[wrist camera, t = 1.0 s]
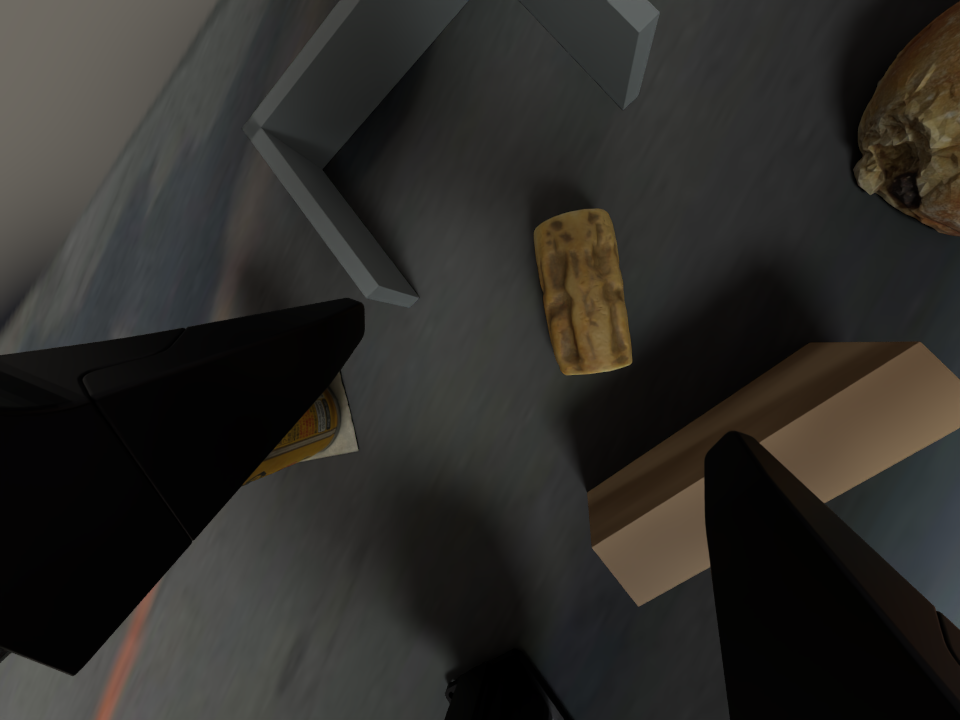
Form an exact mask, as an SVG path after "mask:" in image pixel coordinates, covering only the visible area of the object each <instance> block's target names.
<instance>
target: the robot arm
mask: <svg viewBox="0 0 960 720" xmlns="http://www.w3.org/2000/svg"><path fill="white" fill-rule="evenodd" d="M364 331H365V311H364V305H363V304H362V303H361V302H359V301H356V300H353V299H350V298H343V299H337V300H332V301H326V302H321V303H315V304H310V305H304V306H299V307H294V308H288V309H283V310H277V311H272V312H266V313H261V314H255V315H250V316H245V317H239V318H234V319H228V320H223V321H217V322H212V323H206V324H201V325H195V326H190V327H187V328H186V329H185V328H179V329H173V330H168V331H162V332H157V333H151V334H145V335H139V336H133V337H127V338H120V339H113V340H107V341H100V342H93V343H86V344H79V345H72V346H64V347H57V348H50V349H42V350H35V351H28V352H21V353H13V354H6V355H0V663H1V662H2V661H3V660H4V659H5V658H6V657H7V656H8V655H9V654H11V653H15V654H17V655H20V656H22V657H25V658H27V659H30V660H33V661H35V662H38V663H40V664H43V665H45V666H48V667H50V668H53V669H56V670H58V671H61V672H63V673H66V674H68V675H71V676H74V675H76V674H77V673H78V672H79V671H80V670H81V669H82V668H83V667H84V666H85V665H86V663H87V662H88V661H89V660H90V659H91V658H92V657H93V656H94V655H95V653H96V652H97V651H98V650H99V649H100V648H101V646H102V645H103V644H104V643H105V642H106V641H107V640H108V638H109V637H110V636H111V635H112V634H113V633H114V632H115V630H116V629H117V628H118V627H119V626H120V625H121V624H122V622H123V621H124V620H125V619H126V618H127V617H128V616H129V614H130V613H131V612H132V611H133V610H134V609H135V608H136V606H137V605H138V604H139V603H140V602H141V601H142V600H143V598H144V597H145V596H146V595H147V594H148V593H149V592H150V590H151V589H152V588H153V587H154V586H155V585H156V584H157V582H158V581H159V580H160V579H161V578H162V577H163V576H164V574H165V573H166V572H167V571H168V570H169V569H170V568H171V566H172V565H173V564H174V563H175V562H176V561H177V560H178V558H179V557H180V556H181V555H182V554H183V553H184V552H185V550H186V549H187V548H188V547H189V546H190V545H191V544H192V541H193V540H195V539H196V537H197V536H198V535H199V534H200V533H201V532H202V531H203V529H204V528H205V527H206V526H207V525H208V524H209V523H210V521H211V520H212V519H213V518H214V517H215V516H216V515H217V513H218V512H219V511H220V510H221V509H222V508H223V507H224V505H225V504H226V503H227V502H228V501H229V500H230V499H231V497H232V496H233V495H234V494H235V493H236V492H237V491H238V489H239V488H240V487H241V486H242V485H243V484H244V483H245V481H246V480H247V479H248V478H249V477H250V476H251V475H252V473H253V472H254V471H255V470H256V469H257V468H258V467H259V465H260V464H261V463H262V462H263V461H264V460H265V459H266V457H267V456H268V455H269V454H270V453H271V452H272V451H273V449H274V448H275V447H276V446H277V445H278V444H279V442H280V441H281V440H282V439H283V438H284V437H285V436H286V434H287V433H288V432H289V431H290V430H291V429H292V428H293V426H294V425H295V424H296V423H297V422H298V421H299V420H300V418H301V417H302V416H303V415H304V414H305V413H306V412H307V410H308V409H309V408H310V407H311V406H312V405H313V404H314V402H315V401H316V400H317V399H318V398H319V397H320V396H321V394H322V393H323V392H324V391H325V390H326V389H327V387H328V386H329V385H330V384H331V383H332V381H333V380H334V379H335V377H336V376H337V375H338V373H339V372H340V370H341V369H342V367H343V366H344V364H345V363H346V361H347V360H348V359H349V357H350V356H351V354H352V353H353V351H354V350H355V348H356V347H357V345H358V344H359V343H360V341H361V340H362V338H363V335H364ZM704 505H705V527H706V536H707V544H708V552H709V560H710V567H711V575H712V583H713V591H714V599H715V606H716V614H717V622H718V630H719V637H720V645H721V653H722V661H723V668H724V676H725V684H726V692H727V699H728V707H729V715H730V720H960V630H959V629H958V628H957V627H956V626H955V625H954V624H953V623H952V622H951V621H950V620H949V619H948V618H947V617H945V616H944V615H943V614H942V613H941V612H939V611H936V609H935V607H934V605H932V604H931V603H930V602H929V601H928V600H927V599H926V598H925V597H924V596H923V595H922V594H921V593H920V592H919V591H917V590H916V589H915V588H914V587H913V586H912V585H911V584H910V583H909V582H908V581H907V580H906V579H905V578H904V577H902V576H901V575H900V574H899V573H898V572H897V571H896V570H895V569H894V568H893V567H892V566H891V565H890V564H889V563H888V562H886V561H885V560H884V559H883V558H882V557H881V556H880V555H879V554H878V553H877V552H876V551H875V550H874V549H873V548H871V547H870V546H869V545H868V544H867V543H866V542H865V541H864V540H863V539H862V538H861V537H860V536H859V535H858V534H856V533H855V532H854V531H853V530H852V529H851V528H850V527H849V526H848V525H847V524H846V523H845V522H844V521H843V520H841V519H840V518H839V517H838V516H837V515H836V514H835V513H834V512H833V511H832V510H831V509H830V508H829V507H828V506H827V505H825V504H824V503H823V502H822V501H821V500H820V499H819V498H818V497H817V496H816V495H815V494H814V493H813V492H812V491H810V490H809V489H808V488H807V487H806V486H805V485H804V484H803V483H802V482H801V481H800V480H799V479H798V478H797V477H795V476H794V475H793V474H792V473H791V472H790V471H789V470H788V469H787V468H786V467H785V466H784V465H783V464H782V463H780V462H779V461H778V460H777V459H776V458H775V457H774V456H773V455H772V454H771V453H770V452H769V451H768V450H767V449H766V448H764V447H763V446H762V445H761V444H760V443H759V442H758V441H757V440H756V439H755V438H754V437H752V436H750V435H747V434H744V433H741V432H738V431H735V430H731V431H728V432H727V433H725V434H724V435H723V436H722V437H721V438H720V439H719V440H718V441H717V442H716V443H715V444H714V445H713V446H712V447H711V448H710V449H709V450H708V452H707V453H706V456H705V459H704ZM514 658H517V659H518V660H515V659H514ZM452 692H453V693H452ZM445 696H446V698H447V700H448V701H449V703H450V705H449V708H448V711H447V714H446V717H445V720H569V719H568V718H567V716H566V715H565V713H564V712H563V710H562V709H561V707H560V706H559V705H558V703H557V702H556V700H555V699H554V697H553V696H552V694H551V693H550V692H549V690H548V689H547V687H546V686H545V684H544V683H543V681H542V680H541V679H540V677H539V676H538V674H537V673H536V671H535V670H534V668H533V667H532V665H531V664H530V663H529V661H528V660H527V658H526V657H525V655H524V654H523V653H522V652H521V651H520V650H518V649H512V650H511V651H509V652H507V653H505V654H503V655H501V656H499V657H498V658H496V659H494V660H492V661H488V662H485V663H483V664H481V665H479V666H477V667H475V668H474V669H472V670H470V671H468V672H466V673H464V674H463V675H461V676H460V677H459V679H457V680H455V681H453V682H451V683H450V684H449V685H448V686H447V689H446V692H445Z"/></svg>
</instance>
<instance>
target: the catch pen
mask: <svg viewBox="0 0 960 720" xmlns="http://www.w3.org/2000/svg"><path fill="white" fill-rule="evenodd" d="M468 1H469V0H340V1H339V2H338V3H337V4H336V6H335V7H334V8H333V10H332V11H331V12H330V14H329V15H328V16H327V18H326V19H325V20H324V22H323V23H322V24H321V25H320V27H319V28H318V29H317V31H316V32H315V33H314V35H313V36H312V37H311V39H310V40H309V41H308V42H307V44H306V45H305V46H304V48H303V49H302V50H301V52H300V53H299V54H298V56H297V57H296V58H295V59H294V61H293V62H292V63H291V65H290V66H289V67H288V69H287V70H286V71H285V73H284V74H283V75H282V77H281V78H280V79H279V80H278V82H277V83H276V84H275V86H274V87H273V88H272V90H271V91H270V92H269V94H268V95H267V96H266V97H265V99H264V100H263V101H262V103H261V104H260V105H259V107H258V108H257V109H256V111H255V112H254V113H253V114H252V116H251V117H250V118H249V120H248V121H247V122H246V124H245V125H244V126H243V128H242V130H243V131H244V132H245V134H246V135H247V137H248V138H249V139H250V141H251V142H252V143H253V145H254V146H255V147H256V149H257V150H258V151H259V153H260V154H261V156H262V157H263V158H264V160H265V161H266V162H267V164H268V165H269V166H270V168H271V169H272V171H273V172H274V173H275V175H276V176H277V177H278V179H279V180H280V181H281V183H282V184H283V186H284V187H285V188H286V190H287V191H288V192H289V194H290V195H291V196H292V198H293V199H294V201H295V202H296V203H297V205H298V206H299V207H300V209H301V210H302V211H303V213H304V214H305V216H306V217H307V218H308V220H309V221H310V222H311V224H312V225H313V226H314V228H315V229H316V231H317V232H318V233H319V235H320V236H321V237H322V239H323V240H324V241H325V243H326V244H327V246H328V247H329V248H330V250H331V251H332V252H333V254H334V255H335V256H336V258H337V259H338V261H339V262H340V263H341V265H342V266H343V267H344V269H345V270H346V271H347V273H348V274H349V276H350V277H351V278H352V280H353V281H354V282H355V284H356V285H357V286H358V288H359V289H360V291H361V292H362V293H363V295H364V296H365V297H366V298H367V299H372V300H376V301H381V302H385V303H390V304H394V305H399V306H403V307H408V308H410V307H411V306H412V305H413V304H414V303H415V302H416V301H417V300H418V299H419V296H418V295H417V294H416V292H415V291H414V290H413V288H412V287H411V286H410V284H409V283H408V282H407V281H406V279H405V278H404V277H403V275H402V274H401V273H400V271H399V270H398V269H397V267H396V266H395V265H394V263H393V262H392V261H391V259H390V258H389V257H388V256H387V254H386V253H385V252H384V250H383V249H382V248H381V246H380V245H379V244H378V242H377V241H376V240H375V238H374V237H373V236H372V234H371V233H370V232H369V231H368V229H367V228H366V227H365V225H364V224H363V223H362V221H361V220H360V219H359V217H358V216H357V215H356V213H355V212H354V211H353V209H352V208H351V207H350V206H349V204H348V203H347V202H346V200H345V199H344V198H343V196H342V195H341V194H340V192H339V191H338V190H337V188H336V187H335V186H334V184H333V183H332V182H331V181H330V179H329V178H328V177H327V175H326V174H325V173H324V171H323V170H322V169H323V168H324V167H325V166H326V165H327V164H328V162H329V161H330V160H331V159H332V158H333V157H334V156H335V154H336V153H337V152H338V151H339V150H340V149H341V147H342V146H343V145H344V144H345V143H346V142H347V141H348V139H349V138H350V137H351V136H352V135H353V134H354V132H355V131H356V130H357V129H358V128H359V127H360V126H361V124H362V123H363V122H364V121H365V120H366V119H367V117H368V116H369V115H370V114H371V113H372V112H373V111H374V109H375V108H376V107H377V106H378V105H379V104H380V102H381V101H382V100H383V99H384V98H385V97H386V96H387V94H388V93H389V92H390V91H391V90H392V89H393V87H394V86H395V85H396V84H397V83H398V82H399V81H400V79H401V78H402V77H403V76H404V75H405V74H406V72H407V71H408V70H409V69H410V68H411V67H412V65H413V64H414V63H415V62H416V61H417V60H418V59H419V57H420V56H421V55H422V54H423V53H424V52H425V50H426V49H427V48H428V47H429V46H430V45H431V44H432V42H433V41H434V40H435V39H436V38H437V37H438V35H439V34H440V33H441V32H442V31H443V30H444V29H445V27H446V26H447V25H448V24H449V23H450V22H451V20H452V19H453V18H454V17H455V16H456V15H457V14H458V12H459V11H460V10H461V9H462V8H463V7H464V5H465V4H466V3H467V2H468ZM519 1H520V2H521V3H522V4H523V5H524V6H525V7H526V8H527V9H528V10H529V11H530V13H531V14H532V15H533V16H534V17H535V18H536V19H537V20H538V21H539V22H540V23H541V24H542V25H543V26H544V27H545V28H546V29H547V30H548V32H549V33H550V34H551V35H552V36H553V37H554V38H555V39H556V40H557V41H558V42H559V43H560V44H561V45H562V46H563V47H564V48H565V49H566V51H567V52H568V53H569V54H570V55H571V56H572V57H573V58H574V59H575V60H576V61H577V62H578V63H579V64H580V65H581V66H582V67H583V68H584V70H585V71H586V72H587V73H588V74H589V75H590V76H591V77H592V78H593V79H594V80H595V81H596V82H597V83H598V84H599V85H600V86H601V87H602V89H603V90H604V91H605V92H606V93H607V94H608V95H609V96H610V97H611V98H612V99H613V100H614V101H615V102H616V103H617V104H618V105H619V106H620V108H621V109H622V110H624V109H625V108H626V107H627V106H628V105H629V104H630V103H631V102H633V101H634V100H635V99H636V98H637V97H638V96H639V92H640V88H641V84H642V80H643V76H644V72H645V68H646V65H647V61H648V57H649V53H650V49H651V45H652V41H653V37H654V33H655V29H656V26H657V22H658V18H659V14H660V12H659V11H658V10H657V9H656V8H655V7H654V6H653V5H652V4H651V3H650V2H649V1H648V0H519Z"/></svg>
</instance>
